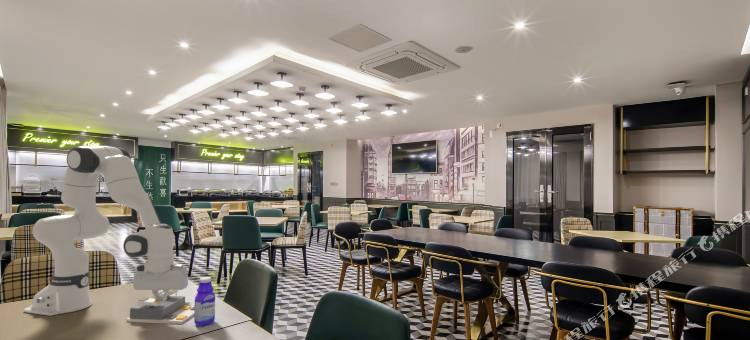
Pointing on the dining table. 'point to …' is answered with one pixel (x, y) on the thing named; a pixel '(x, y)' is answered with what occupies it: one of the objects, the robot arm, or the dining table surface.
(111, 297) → the dining table surface
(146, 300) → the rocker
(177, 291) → the rocker
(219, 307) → the dining table surface
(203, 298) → the bottle
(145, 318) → the switch unit
